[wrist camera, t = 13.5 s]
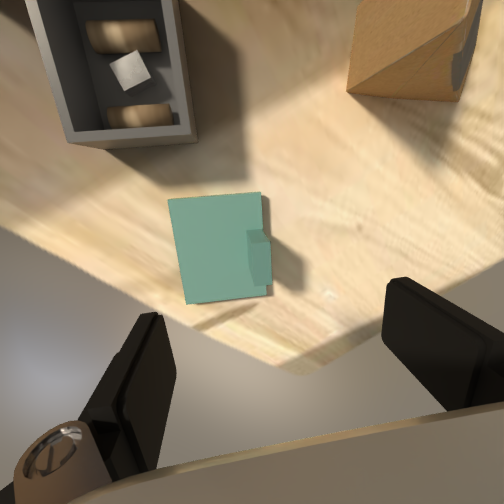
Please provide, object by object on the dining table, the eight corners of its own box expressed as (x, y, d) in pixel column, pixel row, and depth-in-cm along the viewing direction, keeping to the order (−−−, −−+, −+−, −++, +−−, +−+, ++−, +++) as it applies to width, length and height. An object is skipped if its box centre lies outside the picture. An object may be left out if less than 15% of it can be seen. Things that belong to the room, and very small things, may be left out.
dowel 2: (168, 99, 25) (167, 110, 24) (174, 122, 27) (173, 133, 26) (109, 102, 25) (104, 114, 24) (119, 125, 27) (116, 137, 26)
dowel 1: (157, 22, 24) (151, 15, 22) (163, 53, 25) (158, 49, 23) (93, 24, 23) (82, 16, 21) (102, 56, 25) (92, 51, 23)
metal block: (143, 59, 25) (137, 49, 23) (156, 84, 26) (151, 77, 24) (117, 72, 25) (109, 64, 23) (131, 96, 26) (124, 90, 24)
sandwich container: (458, 105, 31) (658, 49, 17) (344, 95, 29) (462, 23, 15) (480, 20, 28) (741, -131, 14) (357, 4, 26) (515, -190, 12)
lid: (258, 190, 31) (270, 197, 24) (264, 289, 36) (275, 319, 29) (170, 198, 30) (154, 206, 23) (187, 298, 35) (179, 332, 28)
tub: (177, -6, 24) (160, -73, 18) (198, 142, 28) (191, 134, 22) (64, -4, 23) (2, -74, 17) (104, 149, 28) (67, 142, 21)
